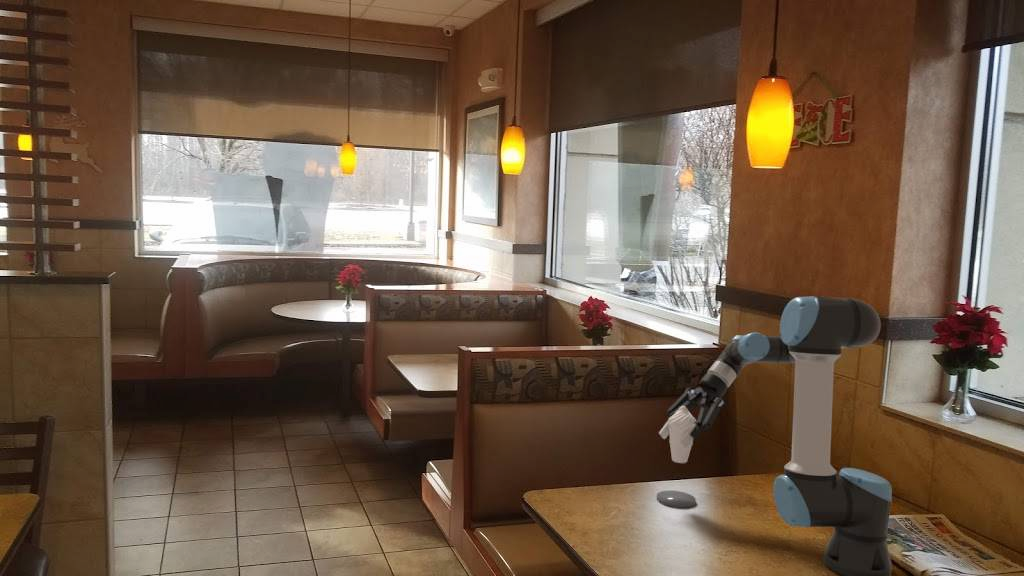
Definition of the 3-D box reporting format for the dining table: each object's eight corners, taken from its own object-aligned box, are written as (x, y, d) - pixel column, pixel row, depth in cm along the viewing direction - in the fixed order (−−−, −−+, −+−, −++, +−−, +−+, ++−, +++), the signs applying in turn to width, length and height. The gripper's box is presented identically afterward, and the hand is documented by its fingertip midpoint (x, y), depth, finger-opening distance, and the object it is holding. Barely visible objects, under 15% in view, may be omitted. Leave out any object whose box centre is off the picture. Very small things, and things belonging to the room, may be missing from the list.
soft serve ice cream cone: (694, 467, 227) (699, 411, 225) (664, 463, 228) (668, 408, 226) (693, 458, 235) (698, 404, 233) (664, 454, 236) (669, 401, 235)
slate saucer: (689, 511, 225) (689, 507, 225) (651, 502, 231) (651, 498, 230) (700, 499, 235) (700, 496, 235) (663, 491, 240) (664, 487, 240)
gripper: (750, 396, 229) (705, 459, 222) (697, 380, 246) (653, 438, 239) (739, 379, 225) (692, 442, 219) (685, 364, 243) (641, 422, 236)
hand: (672, 440), depth 229 cm, fingers closed on soft serve ice cream cone, 8 cm apart
